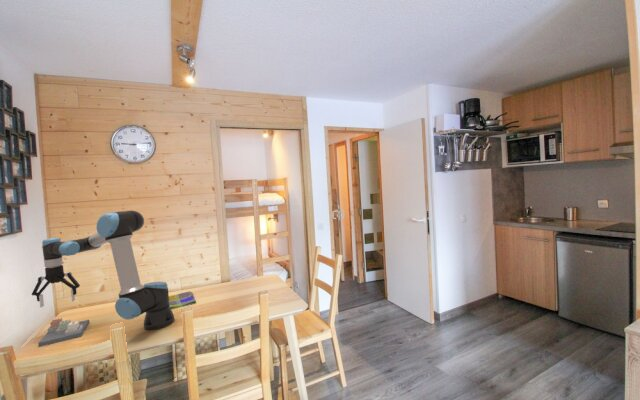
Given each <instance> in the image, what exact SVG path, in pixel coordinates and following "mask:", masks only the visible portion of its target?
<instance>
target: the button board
mask: <svg viewBox="0 0 640 400" xmlns="http://www.w3.org/2000/svg"><path fill="white" fill-rule="evenodd" d="M79 324H80V326H79V328H78V329H75V330H71V331H68V328H64V329H60V330H59V326H58V327H54V328H51V325H50V326H49V327H48V328H47V332H46V334H44V336H42V338H41V339H40V341H38V343H37V344H38V347H39V348H40V347H44V346H49V345H52V344H56V343H60V342H64V341H69V340H73V339H76V338H81V337H82V336H83V335H84V333H85V331H86V330H87V328H88V326H89V325H90V319H85V320H81V321H80V320H79Z"/></svg>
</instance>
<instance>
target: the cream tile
mask: <svg viewBox="0 0 640 400" xmlns="http://www.w3.org/2000/svg"><path fill="white" fill-rule="evenodd" d="M79 322H80V320H76V321H71V323H69V324H68V331H71V330H75V329H78V328H79V326H80V324H79Z"/></svg>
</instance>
